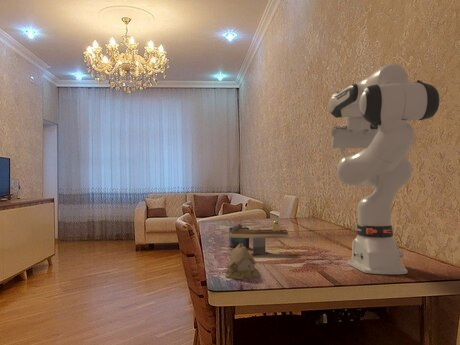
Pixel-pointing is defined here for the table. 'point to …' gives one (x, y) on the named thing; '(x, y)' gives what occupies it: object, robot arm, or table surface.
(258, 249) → the beam
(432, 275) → the table surface
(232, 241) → the flask
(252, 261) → the ceramic model
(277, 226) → the rider
